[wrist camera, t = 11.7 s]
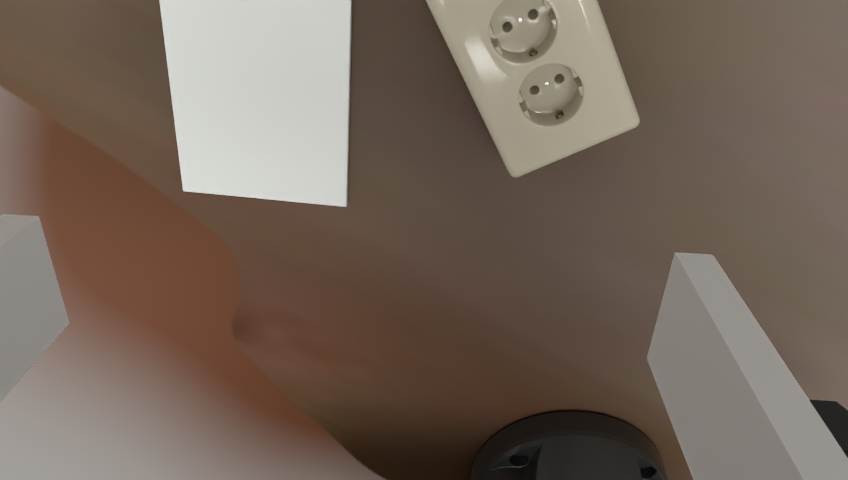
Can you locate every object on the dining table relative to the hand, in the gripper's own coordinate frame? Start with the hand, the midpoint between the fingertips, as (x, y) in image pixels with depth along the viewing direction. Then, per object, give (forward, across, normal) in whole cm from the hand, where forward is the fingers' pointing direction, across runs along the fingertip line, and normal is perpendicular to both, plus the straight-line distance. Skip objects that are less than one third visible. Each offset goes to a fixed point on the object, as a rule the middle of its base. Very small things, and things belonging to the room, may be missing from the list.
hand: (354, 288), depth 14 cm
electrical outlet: (+24, -4, -3) cm, 25 cm away
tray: (+24, +9, +3) cm, 26 cm away
